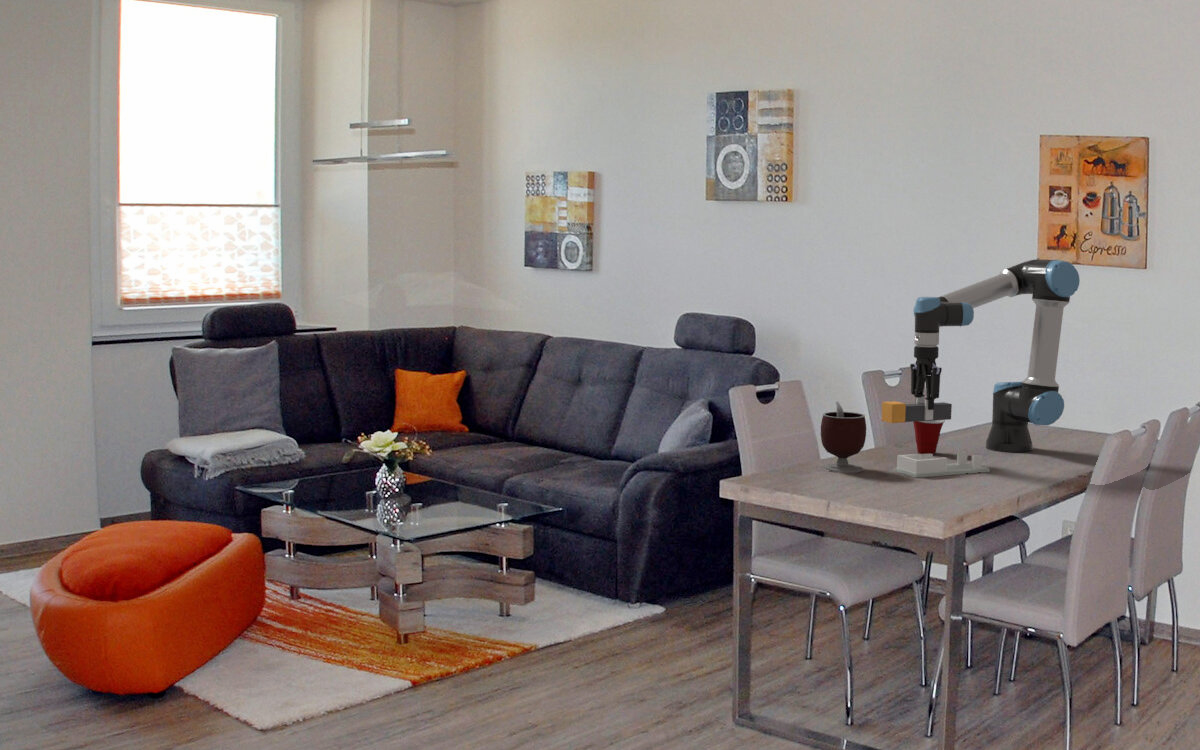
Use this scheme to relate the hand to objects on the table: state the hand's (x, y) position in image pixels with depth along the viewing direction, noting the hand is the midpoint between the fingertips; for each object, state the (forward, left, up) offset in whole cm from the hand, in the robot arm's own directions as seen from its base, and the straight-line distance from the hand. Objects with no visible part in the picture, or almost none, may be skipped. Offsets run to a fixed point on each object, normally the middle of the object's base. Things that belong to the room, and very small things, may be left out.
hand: (924, 418), depth 401 cm
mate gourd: (+30, 0, -15) cm, 33 cm away
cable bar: (+3, 0, 0) cm, 3 cm away
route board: (+3, +14, -14) cm, 21 cm away
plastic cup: (-12, -14, -15) cm, 23 cm away
